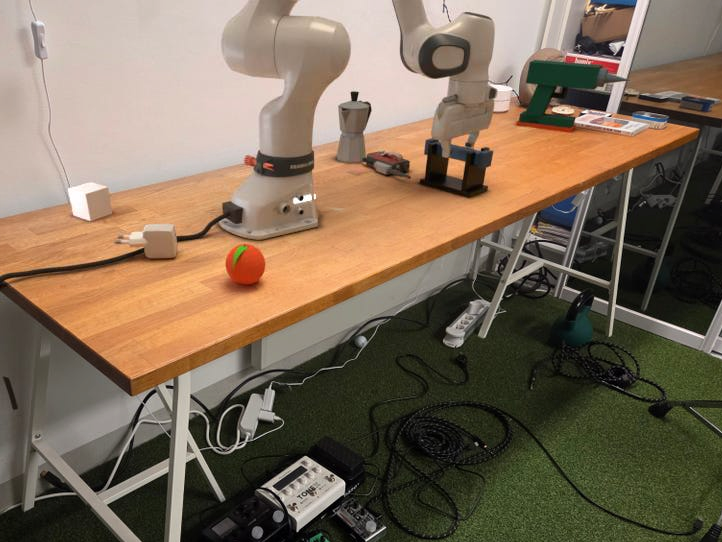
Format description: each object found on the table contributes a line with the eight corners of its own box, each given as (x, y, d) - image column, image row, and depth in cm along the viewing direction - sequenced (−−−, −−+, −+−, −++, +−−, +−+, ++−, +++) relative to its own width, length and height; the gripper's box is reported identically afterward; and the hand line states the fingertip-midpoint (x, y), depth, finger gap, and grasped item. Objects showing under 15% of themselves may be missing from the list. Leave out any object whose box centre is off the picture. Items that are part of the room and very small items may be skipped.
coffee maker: (351, 166, 168) (355, 96, 158) (325, 161, 172) (327, 92, 162) (379, 155, 178) (384, 89, 168) (354, 150, 182) (358, 85, 172)
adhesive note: (73, 215, 135) (67, 188, 132) (95, 208, 139) (90, 181, 136) (90, 221, 132) (85, 193, 129) (112, 213, 136) (108, 186, 133)
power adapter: (116, 261, 114) (111, 231, 111) (121, 251, 119) (116, 222, 115) (176, 260, 115) (172, 230, 112) (178, 250, 119) (175, 221, 116)
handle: (482, 169, 144) (485, 153, 142) (423, 154, 154) (425, 139, 152) (490, 166, 146) (493, 150, 144) (432, 152, 156) (434, 137, 154)
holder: (469, 197, 147) (476, 154, 141) (419, 183, 156) (423, 142, 150) (487, 190, 151) (494, 148, 146) (437, 177, 160) (443, 137, 155)
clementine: (253, 296, 103) (251, 257, 99) (216, 289, 105) (213, 251, 101) (272, 277, 109) (271, 240, 105) (237, 271, 111) (235, 234, 107)
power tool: (617, 133, 203) (635, 67, 192) (613, 137, 198) (632, 70, 187) (521, 121, 217) (533, 59, 206) (516, 125, 212) (528, 61, 201)
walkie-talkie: (355, 165, 169) (406, 183, 155) (356, 149, 166) (408, 166, 153) (379, 160, 173) (430, 177, 160) (380, 144, 171) (432, 160, 157)
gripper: (451, 100, 133) (443, 164, 141) (501, 89, 145) (491, 148, 153) (428, 96, 137) (421, 158, 145) (479, 85, 149) (470, 144, 157)
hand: (457, 153), depth 149 cm, fingers open, 8 cm apart
